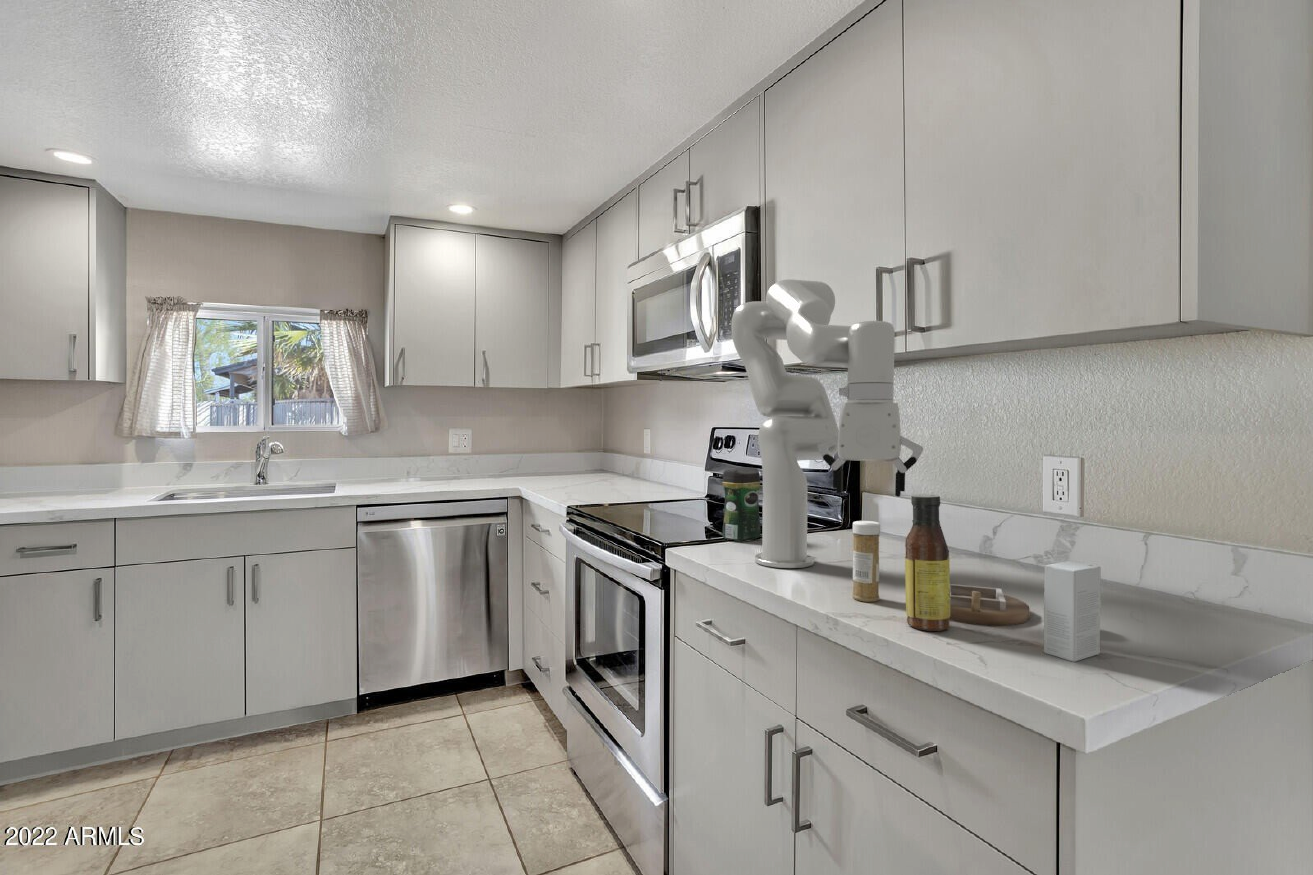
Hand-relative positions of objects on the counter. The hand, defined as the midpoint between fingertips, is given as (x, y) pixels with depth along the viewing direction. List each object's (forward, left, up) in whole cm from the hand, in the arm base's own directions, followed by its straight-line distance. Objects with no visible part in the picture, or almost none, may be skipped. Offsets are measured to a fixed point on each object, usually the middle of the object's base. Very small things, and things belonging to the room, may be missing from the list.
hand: (868, 494), depth 115 cm
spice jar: (0, 0, -19) cm, 19 cm away
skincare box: (+17, +28, -19) cm, 37 cm away
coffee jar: (-46, -35, -19) cm, 61 cm away
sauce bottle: (+12, +10, -19) cm, 24 cm away
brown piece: (0, +17, -18) cm, 25 cm away
